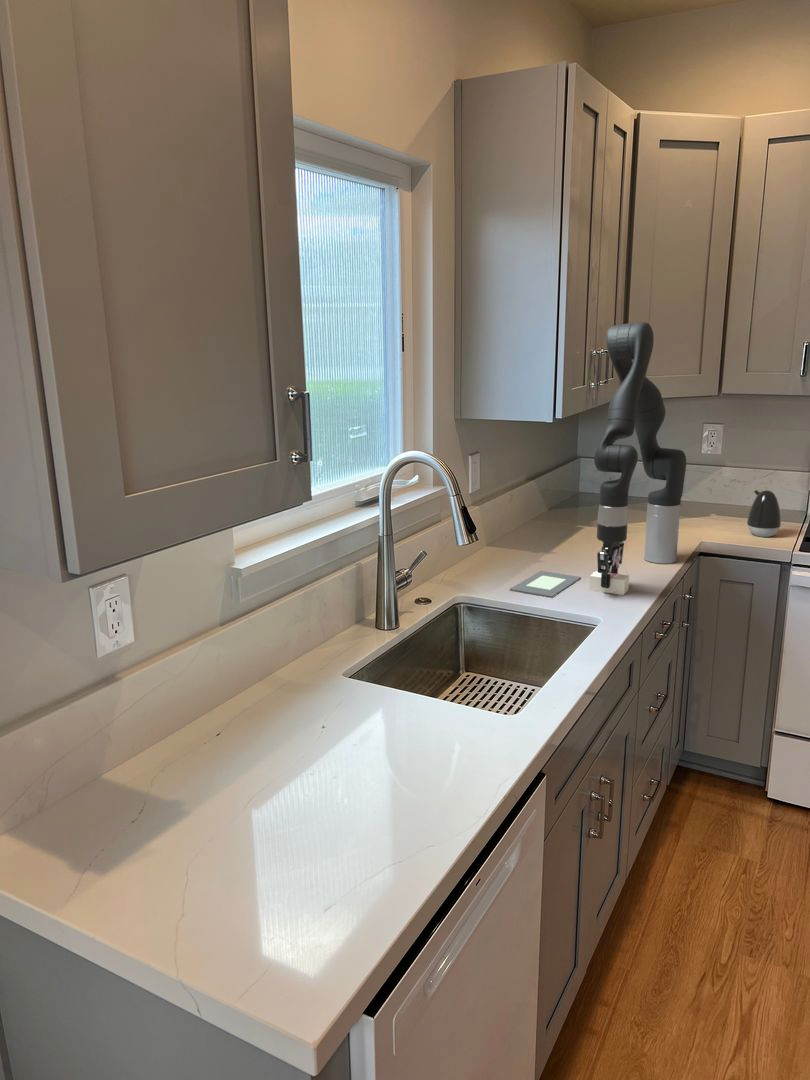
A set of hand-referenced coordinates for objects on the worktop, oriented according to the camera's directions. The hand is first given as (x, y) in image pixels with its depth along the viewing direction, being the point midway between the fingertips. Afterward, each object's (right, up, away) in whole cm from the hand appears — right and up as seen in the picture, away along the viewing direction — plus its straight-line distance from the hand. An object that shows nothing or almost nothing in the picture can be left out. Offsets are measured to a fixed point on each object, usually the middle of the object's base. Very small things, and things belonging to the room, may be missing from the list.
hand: (609, 584), depth 209 cm
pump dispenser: (+65, +13, +56) cm, 87 cm away
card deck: (0, -2, 0) cm, 2 cm away
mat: (-16, 0, +6) cm, 17 cm away
